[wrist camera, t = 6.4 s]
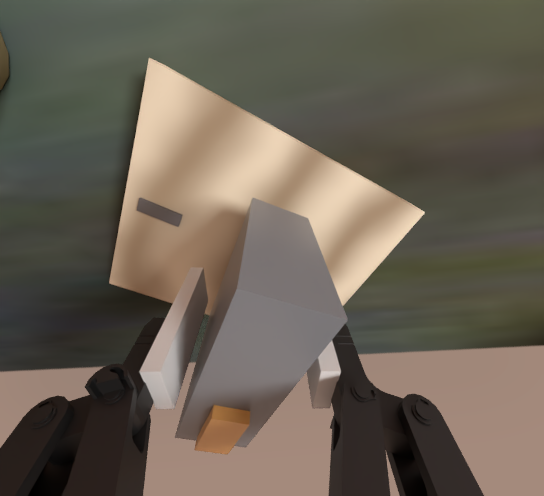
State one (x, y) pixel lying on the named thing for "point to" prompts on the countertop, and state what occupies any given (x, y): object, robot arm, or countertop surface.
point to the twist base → (236, 194)
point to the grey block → (260, 329)
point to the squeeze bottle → (3, 62)
